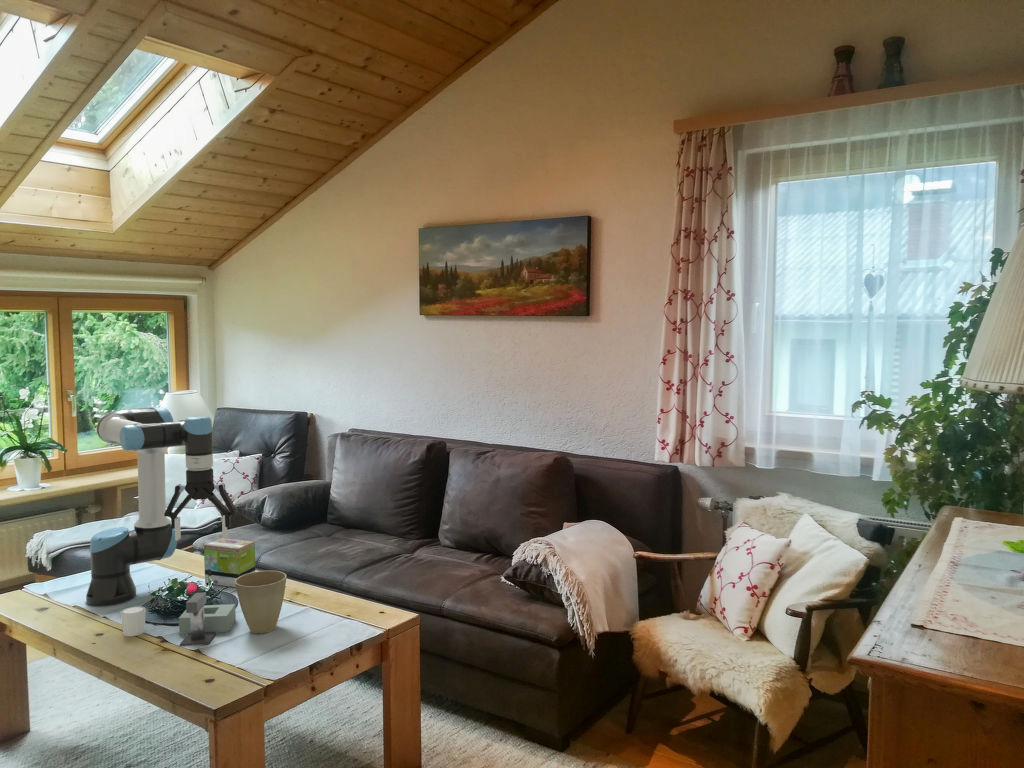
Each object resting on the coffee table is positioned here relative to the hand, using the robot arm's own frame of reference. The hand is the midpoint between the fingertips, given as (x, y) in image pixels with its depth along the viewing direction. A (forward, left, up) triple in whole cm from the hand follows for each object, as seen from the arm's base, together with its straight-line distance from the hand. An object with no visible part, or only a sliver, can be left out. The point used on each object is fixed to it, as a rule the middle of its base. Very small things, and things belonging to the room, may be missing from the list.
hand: (201, 538), depth 225 cm
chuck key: (0, -6, -28) cm, 29 cm away
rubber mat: (0, -6, -29) cm, 29 cm away
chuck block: (0, +4, -29) cm, 29 cm away
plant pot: (+17, 0, -29) cm, 34 cm away
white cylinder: (-21, +2, -29) cm, 36 cm away
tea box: (-4, +47, -29) cm, 55 cm away
